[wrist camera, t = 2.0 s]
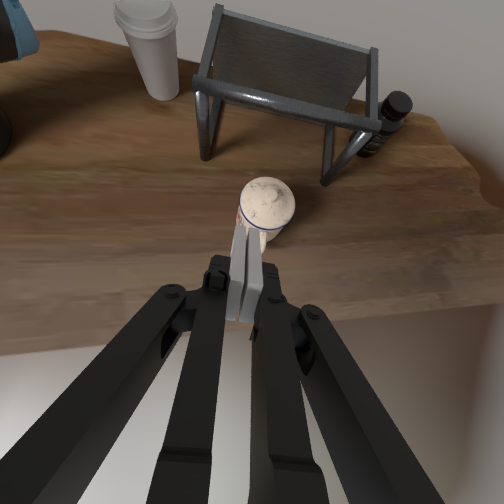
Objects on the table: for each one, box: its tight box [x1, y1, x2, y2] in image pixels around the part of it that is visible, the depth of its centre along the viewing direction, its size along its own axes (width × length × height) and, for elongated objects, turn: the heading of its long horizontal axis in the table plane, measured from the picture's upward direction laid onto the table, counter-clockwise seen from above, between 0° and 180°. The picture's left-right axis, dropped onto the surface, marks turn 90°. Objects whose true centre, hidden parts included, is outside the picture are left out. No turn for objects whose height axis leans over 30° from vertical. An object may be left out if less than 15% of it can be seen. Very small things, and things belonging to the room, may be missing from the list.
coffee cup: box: [113, 0, 179, 101], centre depth 44 cm, size 10×10×15 cm
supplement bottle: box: [349, 91, 413, 158], centre depth 49 cm, size 7×7×12 cm
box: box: [192, 3, 382, 187], centre depth 43 cm, size 27×16×17 cm, turn 82°
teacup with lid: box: [237, 177, 295, 254], centre depth 41 cm, size 12×9×12 cm
